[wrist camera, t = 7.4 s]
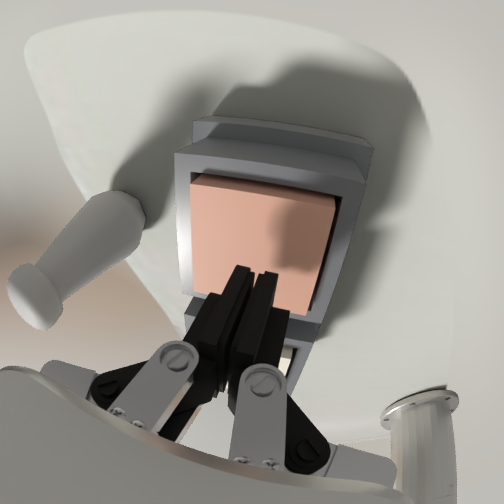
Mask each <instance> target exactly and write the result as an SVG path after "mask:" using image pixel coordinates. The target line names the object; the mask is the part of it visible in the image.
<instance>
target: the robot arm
mask: <svg viewBox="0 0 504 504" xmlns="http://www.w3.org/2000/svg"><path fill="white" fill-rule="evenodd" d="M278 276H279V274H278V273H274V272H269V271H265V272H264V274H261V273H259V274H258V277H257V279H256V282H255V285H254V279H255V272H252V271H251V268H250V267H246V266H242V265H236V266H235V268H234V270H233V272H232V274H231V276H230V278H229V280H228V282H227V284H226V286H225V288H224V290H223V292H222V294H217V293H213V292H210V293H209V294H208V296H207V298H206V299H205V301H204V303H203V305H202V307H201V308H200V310H199V312H198V314H197V316H196V317H195V319H194V321H193V323H192V325H191V326H190V328H189V330H188V332H187V334H186V335H185V337H184V339H183V341H170V342H167V343H165V344H163V345H162V346H161V347H160V348H158V350H157V351H156V352H155V353H154V354H153V356H152V357H151V358H150V359H149V360H147V361H144V362H141V363H137V364H134V365H130V366H127V367H123V368H120V369H116V370H112V371H109V372H105V373H103V374H97V373H96V371H94V370H89V369H86V368H82V367H78V366H75V365H72V364H68V363H65V362H62V361H58V360H52V361H49V362H47V363H46V364H44V366H43V367H42V369H41V371H40V372H38V371H36V370H33V369H30V368H26V367H21V366H7V367H4V368H2V369H0V504H456V503H457V474H456V455H455V443H454V433H453V425H452V417H451V413H453V412H454V411H455V409H456V408H457V406H458V404H459V399H458V395H457V394H456V393H455V392H453V391H450V390H433V391H428V392H423V393H420V394H416V395H413V396H410V397H408V398H405V399H403V400H400V401H399V402H397V403H395V404H393V405H391V406H390V407H388V408H387V409H386V410H385V411H384V412H383V413H382V415H381V426H382V427H383V428H385V429H387V430H391V459H389V458H387V457H383V456H379V455H375V454H371V453H368V452H364V451H361V450H357V449H354V448H350V447H347V446H344V445H341V444H339V445H334V444H331V443H329V442H327V440H326V439H325V437H324V436H323V435H322V434H321V433H320V432H319V430H318V429H317V428H316V427H315V426H314V425H313V423H312V422H311V421H310V420H309V419H308V418H307V416H306V415H305V414H304V413H303V412H302V410H301V409H300V408H299V407H298V405H297V404H296V403H295V402H294V401H293V399H292V398H291V397H290V396H289V394H288V393H287V381H286V377H285V376H284V374H283V373H282V372H281V371H280V370H279V369H278V367H279V362H280V358H281V354H282V349H283V344H284V340H285V335H286V330H287V326H288V321H289V316H290V310H285V309H281V308H276V307H273V303H274V297H275V292H276V287H277V282H278ZM227 383H228V407H229V409H230V410H231V412H232V413H233V415H234V416H235V417H234V425H233V431H232V438H231V445H230V452H229V458H228V459H224V458H221V457H217V456H214V455H211V454H207V453H204V452H201V451H198V450H195V449H192V448H189V447H186V446H184V445H181V444H179V442H180V441H181V439H182V438H183V436H184V435H185V433H186V431H187V430H188V428H189V427H190V425H191V424H192V422H193V421H194V419H195V418H196V416H197V414H198V413H199V411H200V410H201V408H202V405H203V404H205V403H207V402H210V401H211V400H212V397H214V398H217V395H218V392H219V391H220V392H224V391H225V388H226V385H227Z"/></svg>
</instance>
